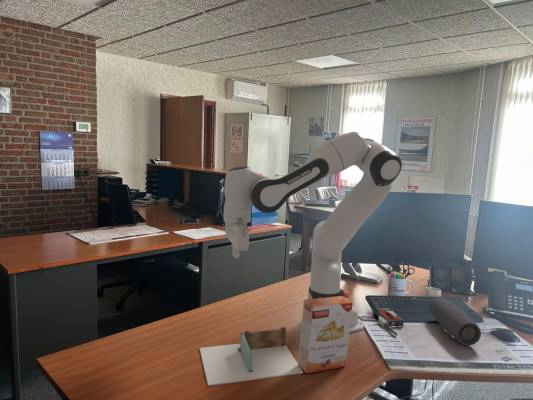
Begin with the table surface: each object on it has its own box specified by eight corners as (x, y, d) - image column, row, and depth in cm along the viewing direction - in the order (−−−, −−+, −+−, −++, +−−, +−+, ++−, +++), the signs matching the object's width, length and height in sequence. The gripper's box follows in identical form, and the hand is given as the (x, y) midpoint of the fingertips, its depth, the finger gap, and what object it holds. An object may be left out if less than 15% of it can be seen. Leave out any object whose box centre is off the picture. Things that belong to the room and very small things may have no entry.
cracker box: (306, 375, 112) (312, 306, 110) (297, 364, 118) (302, 298, 115) (346, 367, 118) (353, 301, 115) (335, 357, 123) (341, 294, 121)
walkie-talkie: (368, 314, 158) (393, 338, 138) (369, 304, 157) (394, 326, 138) (387, 313, 159) (415, 337, 140) (388, 303, 159) (416, 325, 139)
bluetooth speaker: (481, 349, 132) (484, 321, 131) (454, 348, 132) (457, 320, 131) (449, 320, 155) (452, 296, 153) (426, 319, 155) (428, 295, 153)
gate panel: (239, 348, 125) (240, 332, 124) (242, 348, 125) (243, 331, 125) (248, 371, 113) (249, 353, 112) (251, 370, 113) (252, 352, 112)
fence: (284, 343, 130) (284, 326, 129) (285, 346, 128) (286, 329, 127) (243, 348, 126) (244, 330, 125) (244, 350, 124) (245, 333, 123)
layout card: (281, 340, 133) (281, 338, 133) (303, 373, 114) (303, 371, 114) (199, 349, 125) (199, 347, 125) (208, 386, 106) (208, 384, 106)
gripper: (254, 221, 117) (253, 265, 119) (240, 210, 137) (238, 248, 139) (234, 222, 116) (232, 266, 117) (222, 210, 135) (221, 249, 137)
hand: (236, 256), depth 128 cm, fingers closed
